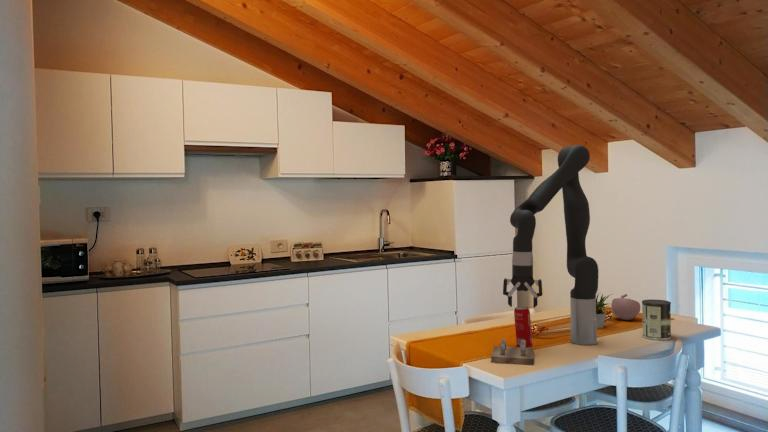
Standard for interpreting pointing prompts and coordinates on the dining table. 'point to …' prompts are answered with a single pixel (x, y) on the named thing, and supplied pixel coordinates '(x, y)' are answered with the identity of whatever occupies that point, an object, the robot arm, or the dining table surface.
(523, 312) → the beverage can
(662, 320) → the coffee can
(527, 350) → the peg board
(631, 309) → the pink apple
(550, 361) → the dining table surface
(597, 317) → the house plant
